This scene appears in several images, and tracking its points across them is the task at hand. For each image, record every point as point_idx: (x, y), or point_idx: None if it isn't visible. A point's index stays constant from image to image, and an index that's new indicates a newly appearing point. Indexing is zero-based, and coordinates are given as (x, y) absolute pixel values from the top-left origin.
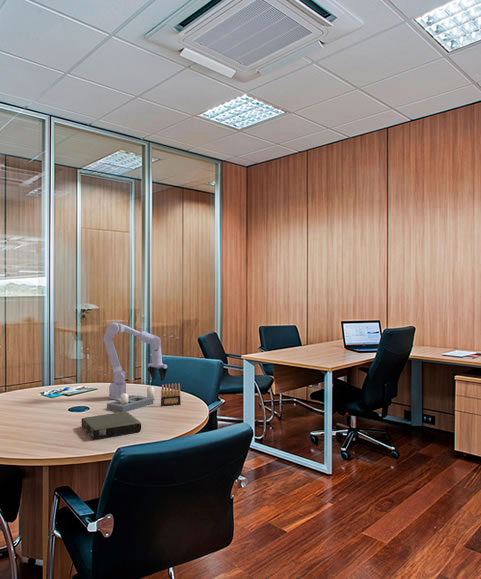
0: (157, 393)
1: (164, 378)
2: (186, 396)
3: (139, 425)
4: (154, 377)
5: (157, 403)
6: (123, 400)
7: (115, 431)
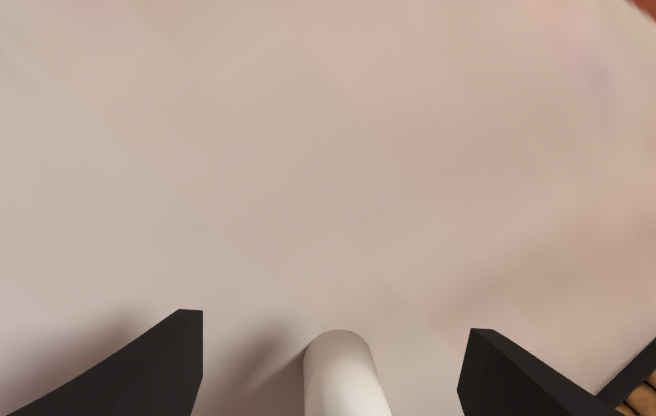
0: (184, 113)
1: (518, 349)
2: (582, 40)
3: None
4: (188, 360)
5: None
6: None
7: None
